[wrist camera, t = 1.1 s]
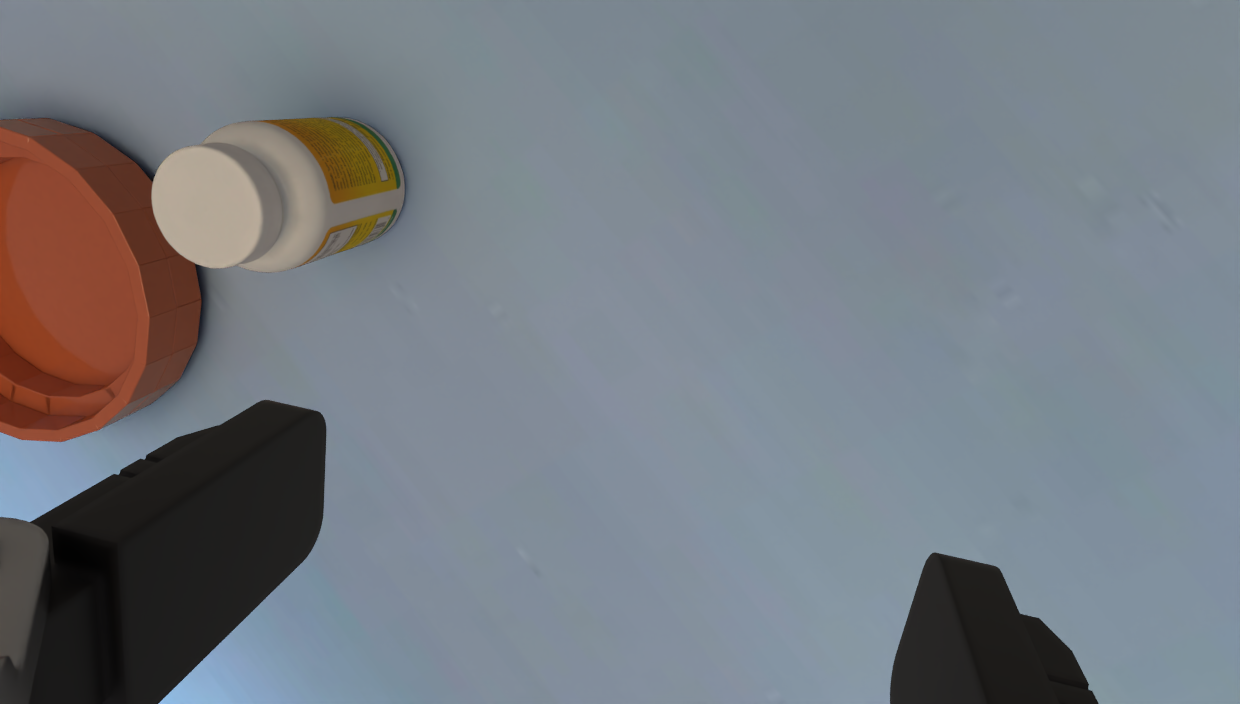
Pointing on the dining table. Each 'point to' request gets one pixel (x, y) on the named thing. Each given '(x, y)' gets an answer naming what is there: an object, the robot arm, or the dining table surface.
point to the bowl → (84, 285)
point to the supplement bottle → (278, 193)
